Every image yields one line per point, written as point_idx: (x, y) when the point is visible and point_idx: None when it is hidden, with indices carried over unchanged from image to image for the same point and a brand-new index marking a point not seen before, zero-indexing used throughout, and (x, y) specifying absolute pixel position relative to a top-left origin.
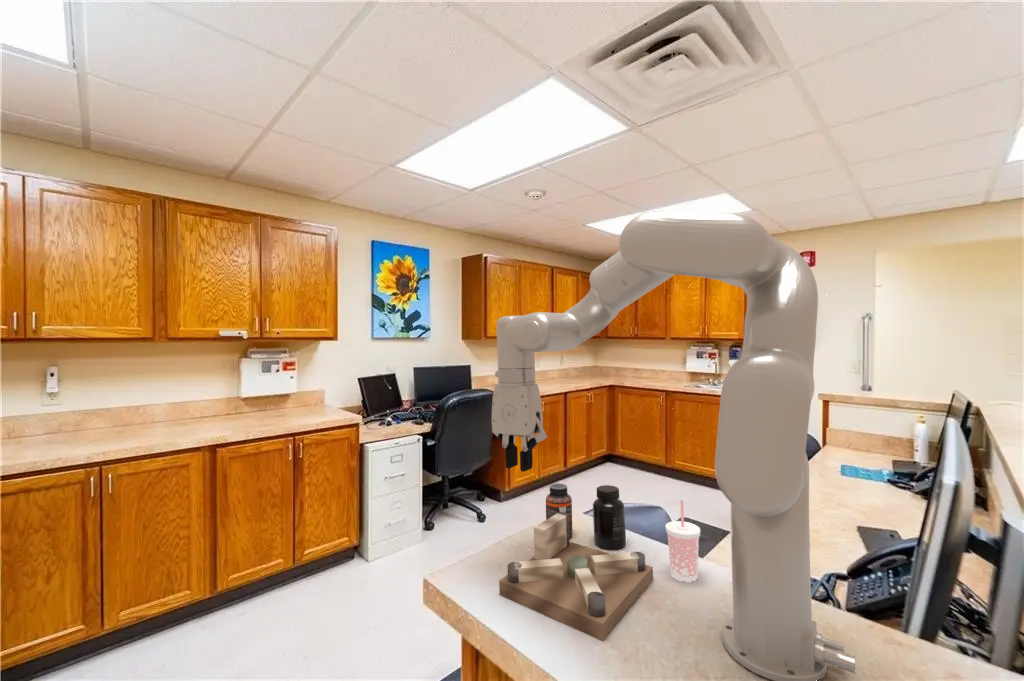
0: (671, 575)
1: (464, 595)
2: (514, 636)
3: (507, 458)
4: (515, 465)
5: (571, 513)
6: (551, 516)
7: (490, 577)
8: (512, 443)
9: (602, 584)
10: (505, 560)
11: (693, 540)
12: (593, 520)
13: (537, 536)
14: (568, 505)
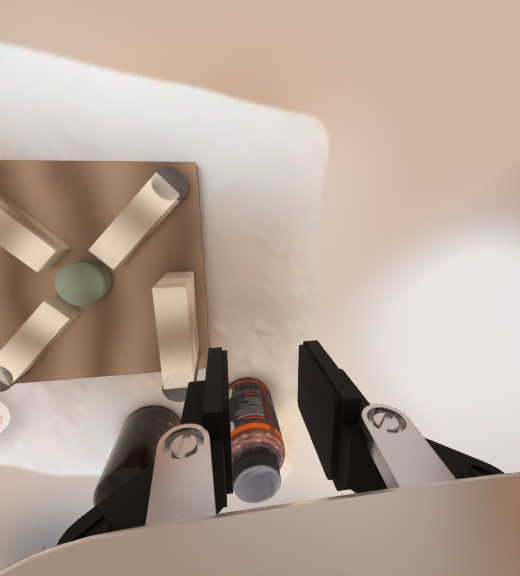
0: (2, 403)
1: (247, 124)
2: (86, 78)
3: (320, 365)
4: (298, 389)
5: None
6: (250, 406)
7: (251, 203)
8: (356, 479)
9: (27, 274)
10: (268, 267)
11: None
12: None
13: (177, 282)
14: None
